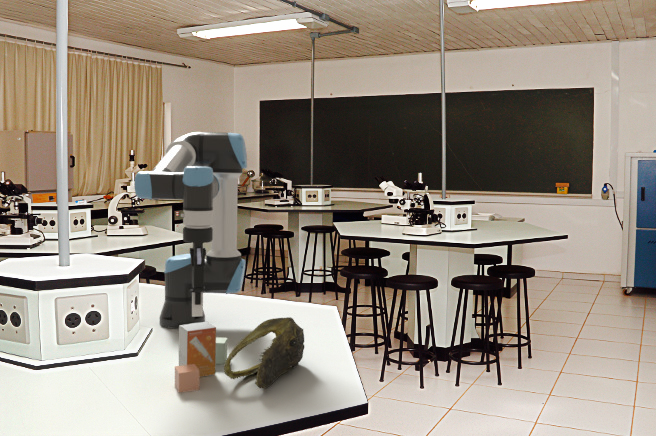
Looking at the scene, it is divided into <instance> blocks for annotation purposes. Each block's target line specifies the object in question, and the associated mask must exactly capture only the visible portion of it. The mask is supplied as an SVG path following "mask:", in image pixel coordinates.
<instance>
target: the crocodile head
mask: <svg viewBox="0 0 656 436" xmlns="http://www.w3.org/2000/svg"><path fill="white" fill-rule="evenodd" d="M304 332H305V331H304V328H302V327H301V326H299V324H297V323H296V322H295V320H294V318H293V317H291V316H290V317H276V318H275V317H274V318H270V319H267V320H264V321H262V322H261V323H260V324H258V325H257V326H256V327H255V328H254V329H253V330H252V331H250V332H249V333H248V334H247V335H245V336H244V337H243V338H242V339H241V340H240V341H239V342H238V343H237V344H236V345H235V346H234V347H233V349H232V350H231V351H230V352H229V354H228V355H227V359H226V362H225V364H223V365H224V366H223V372H224V374H225V375H226V376H227V377H228V378H230V380H231V379H232V380H236V379H239V378H244V377H248V376H251V375H254V374H256V376H255V377H256V381H255V383H254V384H255V385H256V386H257V387H258V388H259V389H266V388H268V387H270V386H272V384H273V383H274V382H275V381H276V380H278V378H279V377H280V376H283V374H285V373H287V372H289V371H290V370H291V369H293V368H296V367H298V365H299V363H300V362H301V360H303V356H304V349H305V344H304V343H305V335H304V334H305V333H304ZM270 333H273V334H274V335H275V337H274V338H273V339H272V340H271V343H270V345H269V347H267V348H264V349H263V350H264V351H263V352H261V355H260V357H261V358H259V359H258V360H259V361H260V362H259V363H258V364H255V365H253V366H251V367H249V368H247V369H243V370H235V371H234V370H232V369H231V362H232V360H233V359H234V358H235V357H236V356H237V355H238V353H240V352H241V351H242V350H243V349H244V348H246V347H247V346H248V345H250V344H252V343H255V341H257V340H258V339H260V338H263V337H265V336H267V335H269V334H270Z"/></svg>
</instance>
